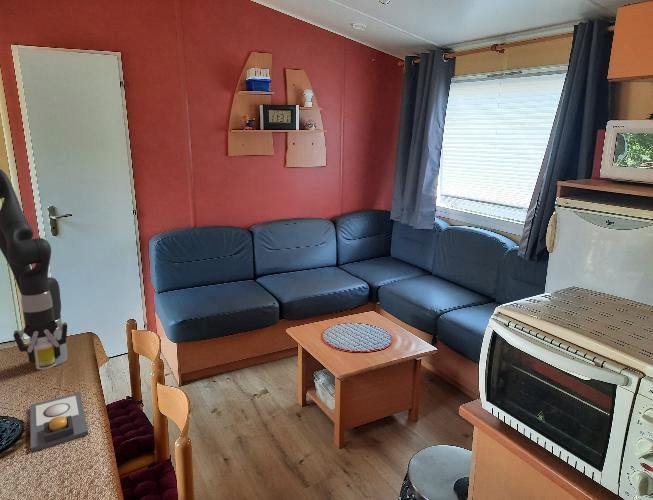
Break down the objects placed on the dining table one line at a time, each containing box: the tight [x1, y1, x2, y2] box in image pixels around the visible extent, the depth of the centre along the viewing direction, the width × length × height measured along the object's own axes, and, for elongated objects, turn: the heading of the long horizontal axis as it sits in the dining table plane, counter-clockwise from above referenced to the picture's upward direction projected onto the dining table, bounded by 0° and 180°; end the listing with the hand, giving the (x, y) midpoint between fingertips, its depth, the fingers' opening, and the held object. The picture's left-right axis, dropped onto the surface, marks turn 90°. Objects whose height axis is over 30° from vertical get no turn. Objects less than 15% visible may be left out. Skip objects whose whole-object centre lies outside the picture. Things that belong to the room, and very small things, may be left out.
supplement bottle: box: [33, 336, 56, 370], centre depth 138 cm, size 5×5×10 cm
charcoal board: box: [29, 391, 89, 453], centre depth 139 cm, size 24×14×3 cm, turn 32°
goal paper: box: [36, 396, 79, 427], centre depth 142 cm, size 12×11×1 cm
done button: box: [49, 416, 67, 432], centre depth 132 cm, size 4×4×2 cm
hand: (45, 359), depth 139 cm, fingers closed on supplement bottle, 5 cm apart
